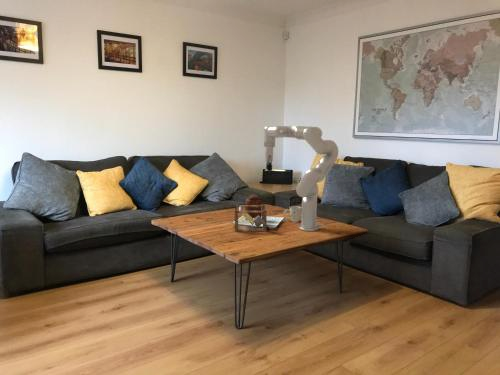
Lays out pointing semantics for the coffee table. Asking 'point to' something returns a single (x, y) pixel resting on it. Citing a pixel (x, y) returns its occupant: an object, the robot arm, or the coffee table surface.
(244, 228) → the frame
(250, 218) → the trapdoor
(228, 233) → the coffee table surface
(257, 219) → the stone
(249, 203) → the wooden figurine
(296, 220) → the mug
